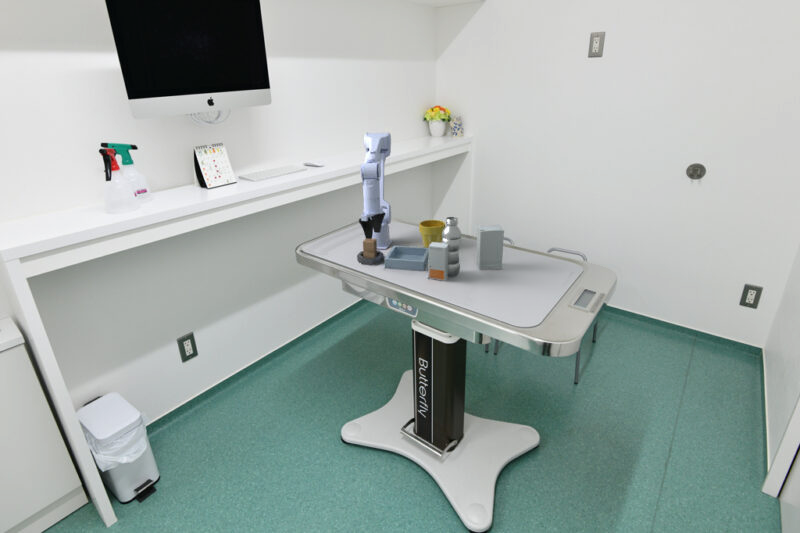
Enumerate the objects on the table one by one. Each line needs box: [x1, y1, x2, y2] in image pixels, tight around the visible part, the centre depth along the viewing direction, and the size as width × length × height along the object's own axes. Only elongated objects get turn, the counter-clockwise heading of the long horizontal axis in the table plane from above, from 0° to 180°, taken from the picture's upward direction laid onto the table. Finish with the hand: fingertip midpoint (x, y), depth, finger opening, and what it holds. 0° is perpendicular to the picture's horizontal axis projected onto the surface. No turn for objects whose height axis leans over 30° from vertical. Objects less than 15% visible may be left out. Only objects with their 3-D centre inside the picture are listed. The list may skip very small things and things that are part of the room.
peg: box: [362, 238, 378, 258], centre depth 166 cm, size 4×4×8 cm
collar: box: [356, 249, 385, 266], centre depth 167 cm, size 9×9×2 cm
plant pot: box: [418, 219, 446, 248], centre depth 179 cm, size 10×10×10 cm
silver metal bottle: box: [442, 216, 462, 277], centre depth 151 cm, size 6×7×20 cm
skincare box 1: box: [427, 242, 449, 282], centre depth 150 cm, size 6×4×12 cm
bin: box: [384, 245, 429, 272], centre depth 165 cm, size 14×14×4 cm
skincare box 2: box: [476, 224, 505, 271], centre depth 158 cm, size 8×6×15 cm
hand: (373, 235), depth 162 cm, fingers open, 7 cm apart
